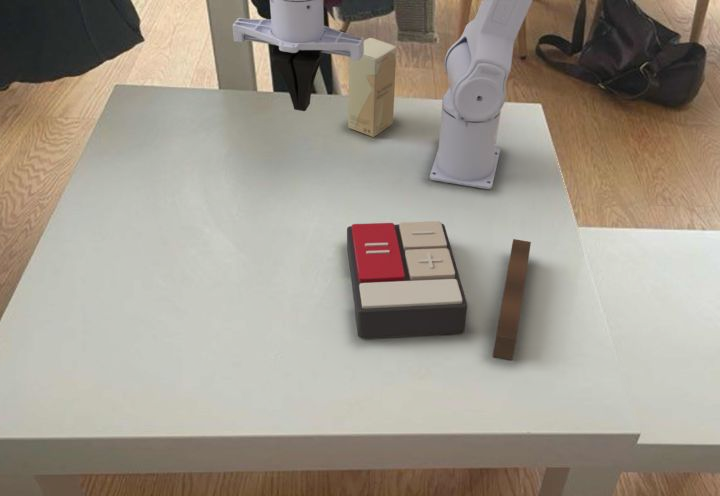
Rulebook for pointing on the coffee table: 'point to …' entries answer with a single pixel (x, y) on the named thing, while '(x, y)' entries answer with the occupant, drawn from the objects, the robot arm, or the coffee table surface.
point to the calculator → (404, 280)
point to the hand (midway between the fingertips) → (302, 106)
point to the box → (372, 88)
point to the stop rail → (512, 300)
